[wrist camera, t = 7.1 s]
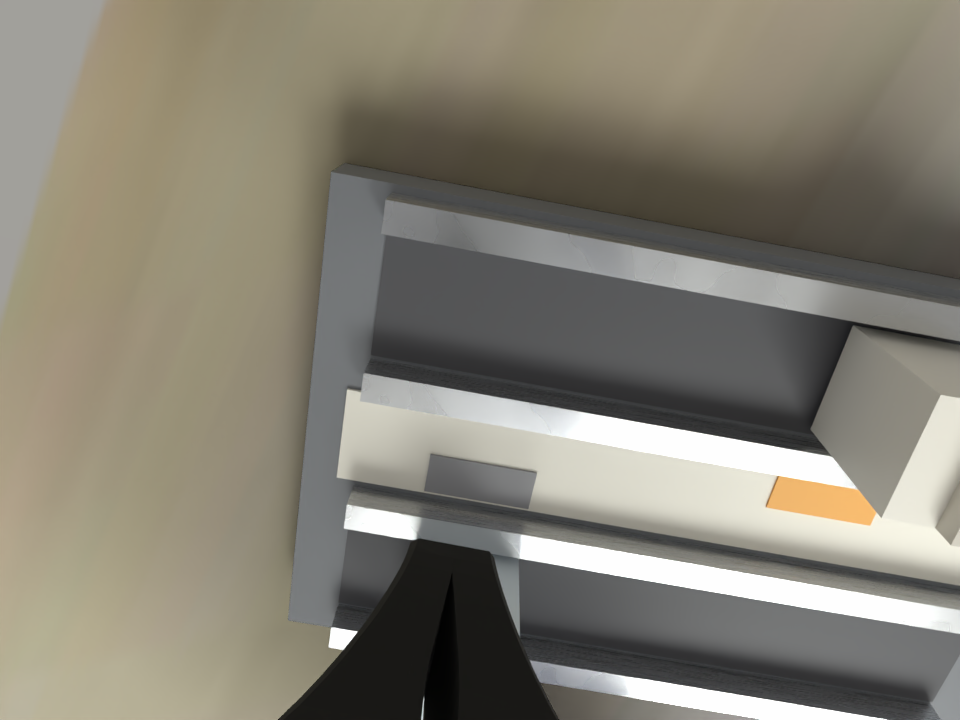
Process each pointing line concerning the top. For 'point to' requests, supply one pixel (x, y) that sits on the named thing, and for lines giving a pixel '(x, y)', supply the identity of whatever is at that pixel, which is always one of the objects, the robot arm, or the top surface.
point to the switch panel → (619, 450)
